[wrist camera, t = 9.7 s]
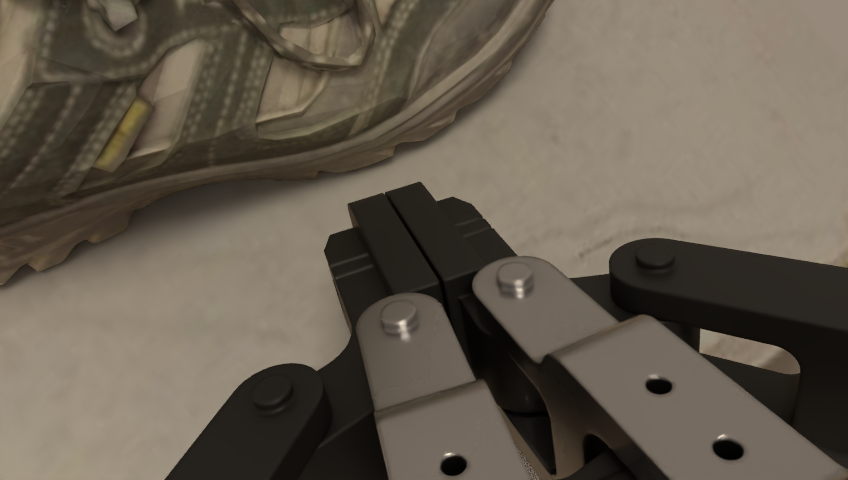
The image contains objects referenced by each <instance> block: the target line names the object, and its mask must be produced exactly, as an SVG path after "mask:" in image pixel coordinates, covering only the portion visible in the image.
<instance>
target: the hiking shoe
mask: <svg viewBox="0 0 848 480" xmlns="http://www.w3.org/2000/svg"><path fill="white" fill-rule="evenodd" d="M553 1H554V0H0V285H3V284H5V283H6V282H7V281H8V279H9V278H10V277H11V276H12V275H13V274H14V273H15V272H16V271H17V270H18V268H19V267H20V266H22V265H24V264H26V263H27V264H28V265H30V266H31V267H32V268H34V269H35V270H36V271H38V272H39V271H41V270H44V269H46V268H49V267H51V266H53V265H56V264H58V263H61V262H63V261H64V259H65V258H66V257H67V255H68V254H69V253H70V251H71V250H72V249H73V247H74V246H75V245H76V244H78V243H80V242H82V241H83V240H85V239H87V240H88V241H89V242H91V243H92V244H94V243H99V242H101V241H103V240H105V239H107V238H109V237H111V236H113V235H116V234H118V233H120V232H122V231H124V230H126V228H127V225H128V223H129V220H130V218H131V215H132V212H133V210H135V209H139V208H142V207H146V206H148V205H149V204H150V203H152V202H154V201H156V200H158V199H161V198H163V197H165V196H167V195H169V194H172V193H174V192H177V191H181V190H186V189H190V188H194V187H198V186H202V185H206V184H210V183H219V182H227V181H235V180H248V179H263V178H276V179H278V180H301V179H316V178H317V175H318V172H319V171H327V172H335V173H342V172H346V171H350V170H354V169H358V168H361V167H365V166H369V165H371V164H374V163H376V162H379V161H381V160H384V159H387V158H389V157H392V156H393V152H394V148H395V145H397V144H400V143H403V142H413V141H424V140H425V139H427V138H428V137H430V136H432V135H433V134H435V133H436V132H438V131H440V130H441V129H443V128H444V127H446V126H447V125H449V124H451V123H452V122H454V119H455V115H456V112H457V110H459V109H460V108H462V107H464V106H466V105H468V104H470V103H473V102H475V101H477V100H479V99H480V98H481V97H482V96H483V95H484V94H485V93H486V92H487V91H488V90H489V89H491V88H492V87H493V86H494V85H495V84H496V83H497V82H498V81H499V80H500V79H501V78H502V77H503V76H504V75H505V74H506V73H507V72H508V71H509V70H510V68H511V64H512V60H513V58H514V57H515V56H516V55H517V53H518V52H519V51H520V50H521V49H522V48H523V46H524V45H525V44H526V43H527V42H528V41H529V39H530V38H531V37H532V36H533V35H534V34H535V32H536V31H537V29H538V27H539V25H540V24H541V22H542V20H543V19H544V16H545V12H546V11H547V9H548V8H549V7H550V5H551V4H552V3H553Z"/></svg>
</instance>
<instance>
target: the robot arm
mask: <svg viewBox="0 0 848 480" xmlns="http://www.w3.org/2000/svg"><path fill="white" fill-rule="evenodd" d="M348 210H349V214H350V218H351V222H352V225H353V228H351V229H348V230H345V231H341V232H338V233H335V234H332V235H330V236H329V239H328V242H327V244H326V247H325V250H324V252H325V256H326V259H327V262H328V265H329V269H330V272H331V275H332V278H333V282H334V285H335V288H336V291H337V295H338V298H339V301H340V304H341V308H342V311H343V314H344V317H345V319H346V322H347V325H348V328H349V330H350V333H351V338H350V341H349V343H348V345H347V346H346V348H345V349H344V350H343V351H342V353H341V354H340V355H339V356H338V357H337V358H335V359H334V360H333V361H332V362H330V363H329V364H327V365H326V366H324V367H323V368H321V369H319V370H318V371H316V370H314V369H313V368H311V367H309V366H306V365H303V364H295V363H289V364H281V365H276V366H272V367H269V368H266V369H264V370H262V371H260V372H258V373H256V374H254V375H252V376H251V377H249V378H248V379H247V380H245V381H244V382H243V383H242V384H241V385H239V387H238V388H237V389H236V390H235V391H234V392H233V393H232V395H231V396H230V397H229V399H228V400H227V401H226V402H225V404H224V405H223V406H222V407H221V409H220V410H219V411H218V412H217V414H216V415H215V416H214V418H213V419H212V420H211V421H210V423H209V424H208V425H207V426H206V428H205V429H204V430H203V431H202V433H201V434H200V435H199V437H198V438H197V439H196V440H195V442H194V443H193V444H192V445H191V447H190V448H189V449H188V451H187V452H186V453H185V454H184V456H183V457H182V458H181V459H180V461H179V462H178V463H177V464H176V466H175V467H174V468H173V470H172V471H171V472H170V473H169V475H168V476H167V477H166V478H165V480H532V479H531V477H530V475H529V473H528V470H527V468H526V466H525V464H524V462H523V460H522V458H521V456H520V453H519V451H518V449H519V450H520V452H521V453H522V454H523V456H524V457H525V459H526V460H527V461H528V463H529V464H530V466H531V467H532V469H533V470H534V471H535V473H536V474H537V476H538V477H539V478H540V480H848V268H845V267H839V266H832V265H826V264H820V263H814V262H808V261H801V260H795V259H789V258H783V257H777V256H770V255H764V254H758V253H752V252H746V251H739V250H733V249H727V248H721V247H715V246H708V245H702V244H696V243H690V242H684V241H677V240H671V239H663V238H648V239H641V240H636V241H632V242H629V243H627V244H624V245H623V246H621V247H619V248H618V249H617V250H615V251H614V252H613V254H612V255H611V257H610V260H609V274H604V275H596V276H588V277H580V278H567V277H566V276H565V275H564V274H563V273H562V272H561V271H559V270H558V269H557V268H556V267H555V266H554V265H552V264H551V263H549V262H547V261H545V260H543V259H540V258H536V257H531V256H517V255H516V254H515V252H514V251H513V250H512V249H511V248H510V247H509V246H508V245H507V243H506V242H505V241H504V240H503V239H502V238H501V237H500V236H499V235H498V233H497V232H496V231H495V230H494V229H492V228H491V226H490V224H489V223H488V222H487V221H486V220H485V219H483V217H482V215H481V214H480V213H479V212H478V211H477V210H476V209H475V208H474V206H473V205H472V204H470V203H467V202H465V201H462V200H460V199H457V198H454V197H450V198H447V199H443V200H440V201H437V202H436V200H435V199H434V198H433V197H432V195H431V194H430V193H429V192H428V190H427V189H426V188H425V186H424V185H423V184H422V183H421V182H417V183H414V184H411V185H407V186H404V187H401V188H398V189H394V190H391V191H388V192H385V195H384V194H383V193H381V194H378V195H375V196H371V197H368V198H365V199H362V200H358V201H355V202H352V203H349V204H348ZM700 328H701V329H705V330H709V331H714V332H718V333H722V334H727V335H731V336H736V337H740V338H744V339H749V340H753V341H757V342H762V343H766V344H770V345H774V346H778V347H780V348H783V349H785V350H786V351H788V352H789V353H791V354H792V355H793V356H794V357H795V358H796V360H797V361H798V363H799V365H800V373H799V374H792V375H790V374H783V373H778V372H774V371H770V370H766V369H762V368H758V367H754V366H750V365H746V364H742V363H738V362H734V361H730V360H726V359H722V358H718V357H714V356H710V355H706V354H702V353H699V346H700ZM516 446H517V447H518V449H517V447H516Z"/></svg>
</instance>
